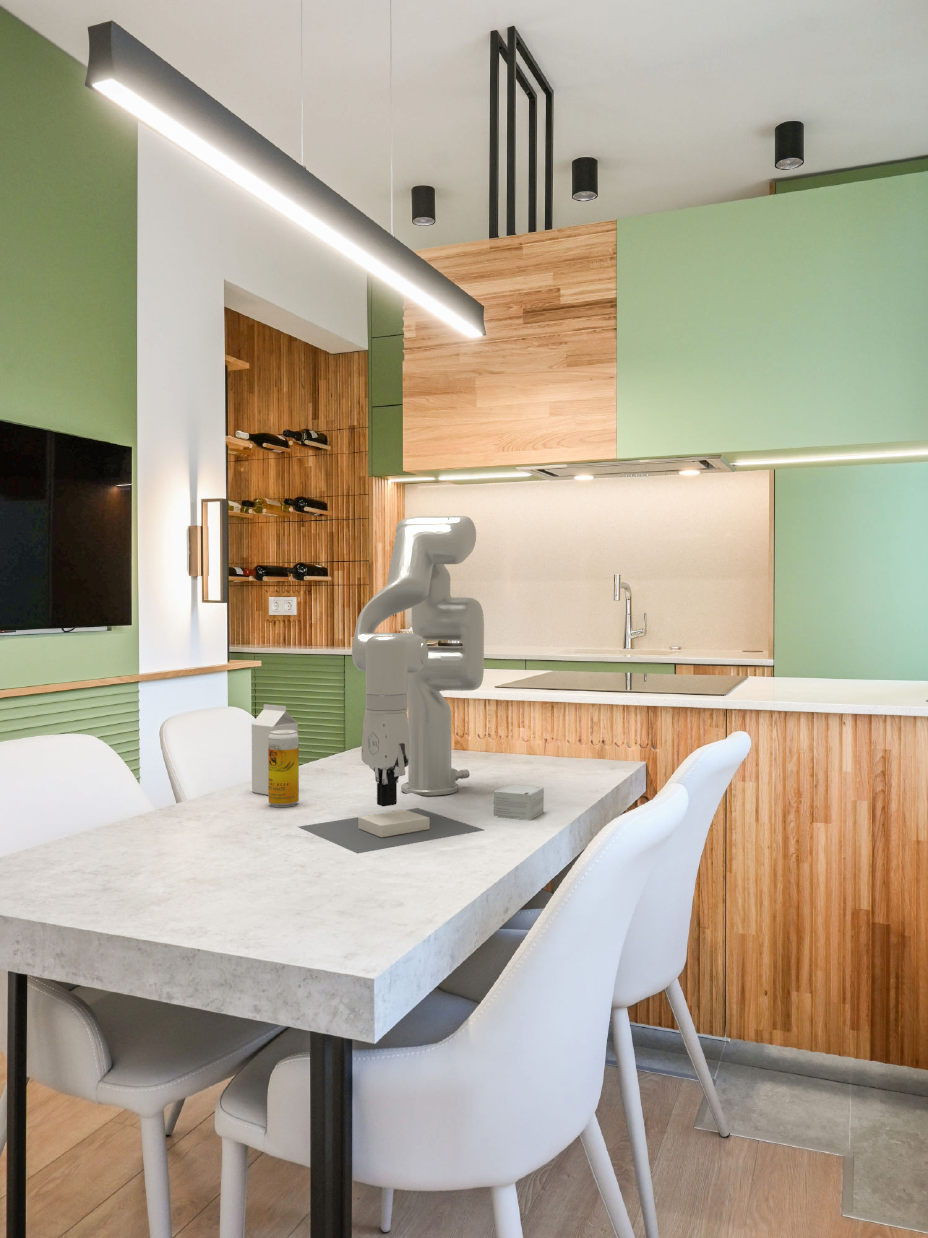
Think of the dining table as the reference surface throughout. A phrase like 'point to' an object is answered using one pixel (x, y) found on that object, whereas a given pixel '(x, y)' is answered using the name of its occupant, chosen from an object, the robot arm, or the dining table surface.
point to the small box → (519, 802)
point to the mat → (363, 841)
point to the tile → (393, 823)
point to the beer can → (283, 768)
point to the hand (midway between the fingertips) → (386, 804)
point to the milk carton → (266, 742)
